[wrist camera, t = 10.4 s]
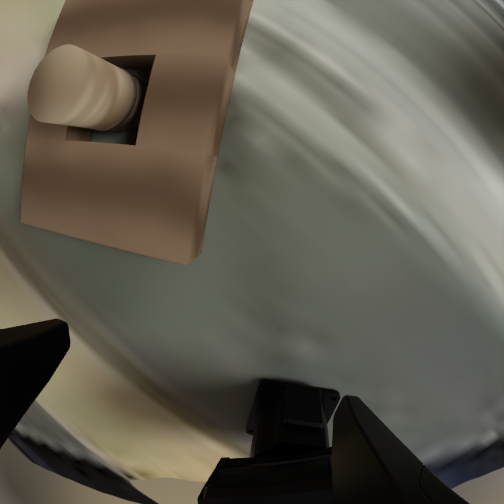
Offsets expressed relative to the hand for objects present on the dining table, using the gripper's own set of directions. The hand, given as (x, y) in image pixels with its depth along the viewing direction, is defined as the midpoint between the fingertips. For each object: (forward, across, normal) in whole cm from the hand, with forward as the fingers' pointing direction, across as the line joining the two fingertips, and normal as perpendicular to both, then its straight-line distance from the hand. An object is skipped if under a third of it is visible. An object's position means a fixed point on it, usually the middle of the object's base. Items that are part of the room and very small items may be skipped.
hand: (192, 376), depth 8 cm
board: (+12, +10, -9) cm, 18 cm away
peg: (+12, +10, -9) cm, 18 cm away
